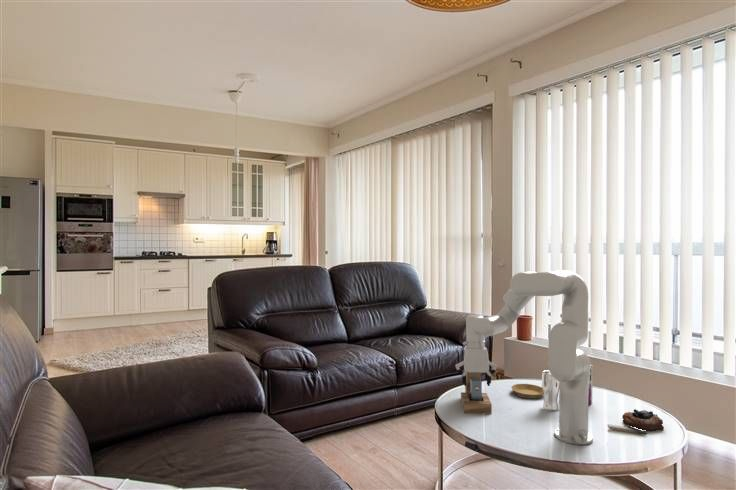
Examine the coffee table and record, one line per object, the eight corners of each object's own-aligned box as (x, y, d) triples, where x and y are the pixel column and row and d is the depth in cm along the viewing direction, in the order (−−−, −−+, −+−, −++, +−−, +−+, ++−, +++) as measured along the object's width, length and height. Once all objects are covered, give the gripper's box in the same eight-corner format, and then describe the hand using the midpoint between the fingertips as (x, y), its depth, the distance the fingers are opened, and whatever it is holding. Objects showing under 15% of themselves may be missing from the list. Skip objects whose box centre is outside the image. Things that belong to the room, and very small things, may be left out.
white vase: (556, 405, 197) (556, 370, 197) (561, 411, 190) (561, 375, 190) (539, 404, 198) (539, 370, 197) (544, 411, 191) (544, 375, 190)
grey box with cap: (482, 410, 192) (481, 381, 192) (472, 410, 192) (472, 381, 192) (479, 404, 199) (479, 376, 199) (470, 404, 199) (470, 376, 199)
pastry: (668, 430, 172) (668, 415, 172) (640, 433, 169) (640, 417, 169) (644, 419, 183) (644, 404, 182) (618, 421, 180) (618, 407, 180)
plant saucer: (537, 388, 219) (537, 383, 219) (551, 400, 204) (551, 394, 204) (507, 389, 219) (507, 383, 218) (518, 400, 204) (518, 394, 204)
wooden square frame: (491, 413, 189) (491, 364, 188) (464, 412, 190) (463, 364, 189) (484, 396, 208) (484, 352, 208) (459, 396, 209) (459, 352, 209)
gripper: (455, 346, 192) (456, 387, 193) (498, 346, 191) (499, 388, 191) (454, 342, 200) (455, 382, 200) (495, 342, 198) (496, 382, 198)
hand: (476, 385), depth 195 cm, fingers open, 9 cm apart
